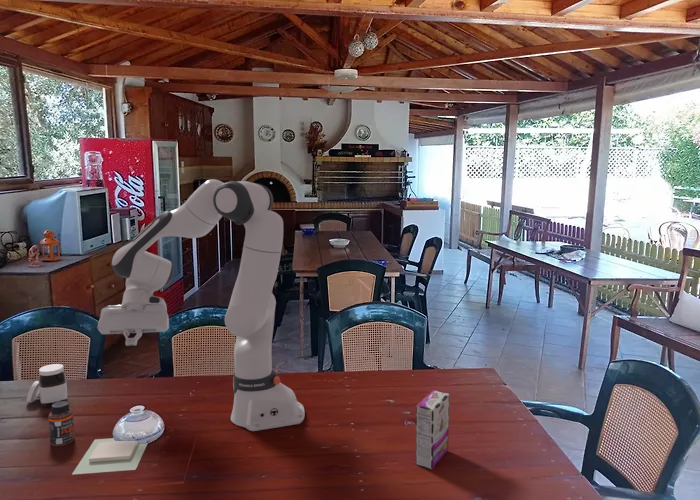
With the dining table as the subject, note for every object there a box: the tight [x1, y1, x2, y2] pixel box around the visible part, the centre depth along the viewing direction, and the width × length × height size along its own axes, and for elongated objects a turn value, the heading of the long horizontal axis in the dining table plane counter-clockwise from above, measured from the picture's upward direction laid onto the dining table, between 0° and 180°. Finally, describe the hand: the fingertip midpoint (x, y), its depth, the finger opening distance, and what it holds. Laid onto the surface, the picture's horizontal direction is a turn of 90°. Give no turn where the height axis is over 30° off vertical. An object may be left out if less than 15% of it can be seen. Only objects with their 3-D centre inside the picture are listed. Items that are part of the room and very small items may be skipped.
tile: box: [89, 441, 137, 463], centre depth 136 cm, size 10×1×8 cm
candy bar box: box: [415, 389, 450, 470], centre depth 135 cm, size 11×5×16 cm, turn 148°
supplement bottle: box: [48, 400, 76, 448], centre depth 142 cm, size 6×6×11 cm
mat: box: [71, 437, 149, 476], centre depth 136 cm, size 15×17×1 cm
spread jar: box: [26, 363, 68, 407], centre depth 167 cm, size 12×11×12 cm
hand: (130, 344), depth 154 cm, fingers closed
